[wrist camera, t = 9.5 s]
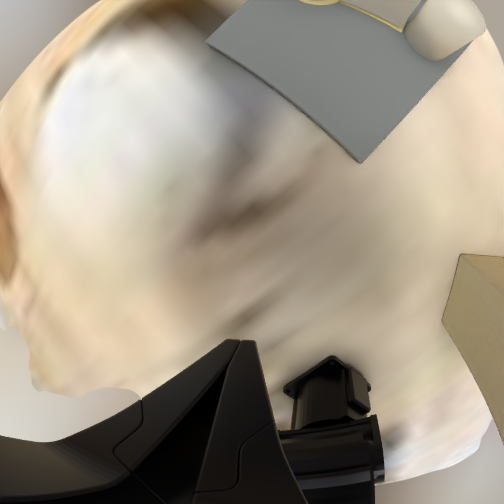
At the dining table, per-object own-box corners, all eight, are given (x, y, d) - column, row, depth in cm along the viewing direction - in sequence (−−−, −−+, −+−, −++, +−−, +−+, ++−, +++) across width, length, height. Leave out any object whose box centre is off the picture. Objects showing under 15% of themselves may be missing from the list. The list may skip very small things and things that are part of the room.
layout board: (358, 162, 17) (362, 163, 16) (209, 46, 16) (204, 41, 15) (468, 42, 11) (474, 38, 10) (337, -55, 10) (338, -62, 9)
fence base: (435, 73, 13) (486, 44, 6) (395, 46, 13) (432, 2, 6) (457, 4, 10) (494, -29, 3) (423, -19, 10) (451, -60, 3)
